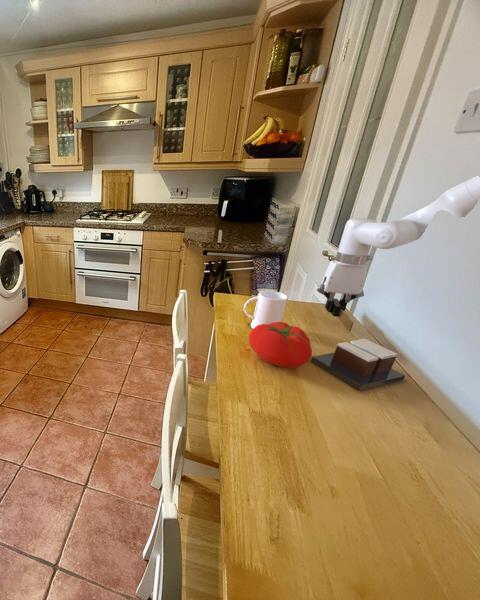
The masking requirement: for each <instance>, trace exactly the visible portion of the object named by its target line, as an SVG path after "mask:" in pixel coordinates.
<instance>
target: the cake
mask: <svg viewBox="0 0 480 600" xmlns="http://www.w3.org/2000/svg"><path fill="white" fill-rule="evenodd" d="M349 343H350V344H352V345H354V346H356V347H358V348H360V349H362V350H364V351H366V352H368V353H370V354H372V355H374V356H376V357H378V361H377V363H376V365H375V368H374V370H373V372H374V373H375V374H377V373H382V372H386V371H390V370H391V368H392V369H393V366H394V364H395V361H396V359H397V356H398V355H399V354H398V353H397V352H394V351H393V350H390V349H388V348H386V347H384V346H382V345H379V344H377V343H375V342H373V341H371V340H369V339H367V338H360V339H355V340H350V342H349Z"/></svg>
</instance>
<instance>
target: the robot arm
mask: <svg viewBox="0 0 480 600" xmlns="http://www.w3.org/2000/svg"><path fill="white" fill-rule="evenodd" d="M475 176H476V177H475ZM475 176H472V177H471V178H468V179H466V180H465V181H463V182H461V183H459V184H457V185H454V186H453V187H452V186H451V188H449V189H447V190H445V191H444V192H442V194H441V195H439V196H438V198H437V199H435V200H434V201H432V202H431V203H429V204H427V205H426V206H424V207H422V208H420V209H417V210H416V211H413V212H412V213H410V214H407V215H406V216H403V217H401V218H399V219H395V220H391V221H385V222H382V221H381V222H379V221H377V220H376V219H373V218H365V217H354V218H350V219H348V220H347V221H346V223H345V226H344V229H343V231H342V235H341V239H340V242H339V245H338V247H337V248H338V249H337V253H336V255H335V258H334V259H332V260H331V261H330V262H329V264H328V266H327V268H326V270H325V272H324V275H323V276H322V277H323V278H322V280H321V282H320V283H321V284H320V285H319V287H318V288H316V291H317V292H318V293H319V294H321V295H323V296H324V297H325V298H326V302H325V305H324V308H325V310H326V311H327V312H328V313H330V312H331V311H332V308H333V304H334V301H333V300H334V298H335V297H336V294H342V298H341V299H339V301H340V303H341V304H342V305H343V306H344V307H345V309H344V312H345V311H346V309H347V305H348V304H349V303H350V302H351V301H353V300H355V299H358V298H362V297H364V296H365V293H364V286H365V283H366V278H367V273H368V264H367V262H369V261H370V262H372V261H373V259H374V257H373V256H372V255H371V256H370V250H371V248H375V249H381V250H391V249H395V248H397V247H402V246H404V245H408V244H411V243H413V242H415V241H417V240H420V239H421V238H420V237H421V236H422V234H423V233H424V232H425V229H426V228H427V226H428V224H429V223H430V220H431V219H432V218H433V216H434V214H436V212H437V211H440V210H444V211H447V212H449V213H451V214H452V215H453V216H455V217H458V218H461V217H465V216H466V215H467V214H468V213H469V212H470V211H471V210H472V209H473V208H474V206H475V205H476V204H477V202H478V200H479V199H480V177H479V176H477V175H475ZM419 238H420V239H419Z"/></svg>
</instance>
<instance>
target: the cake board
mask: <svg viewBox="0 0 480 600" xmlns="http://www.w3.org/2000/svg"><path fill="white" fill-rule="evenodd" d="M334 353H335V352H331V353H326V354H319V355H313V356H311V358H310V359H311V360H310V362H311V363H313V364H314V365H317V366H318V367H320V368H321V369H323V370H324V371H326V372H327V373H329V374H331V375H332V376H334V377H335V378H338V379H339V380H340V381H342V382H343V383H345V384H348V385H349V386H350V387H352V388H354V389H355V390H357V391H364V390H368V389H373V388H376V387H380V386H384V385H389V384H393V383H394V384H395V383H398V382H403V381H404V380H405V379H406V375H405V374H403V373H402V372H399V371H398V370H396V369H393V367H392V368H391V370H390V371H386V372H382V373H377V374H375V373H374V372H372V375H368V376H364V377H362V376H360V375H359V374H357V373H355V372H353V371H352V370H350V369H348V368H346V367H345V366H343V365H341V364H339V363H338V362H336V361H334V360H332V358H333V356H334Z"/></svg>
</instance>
